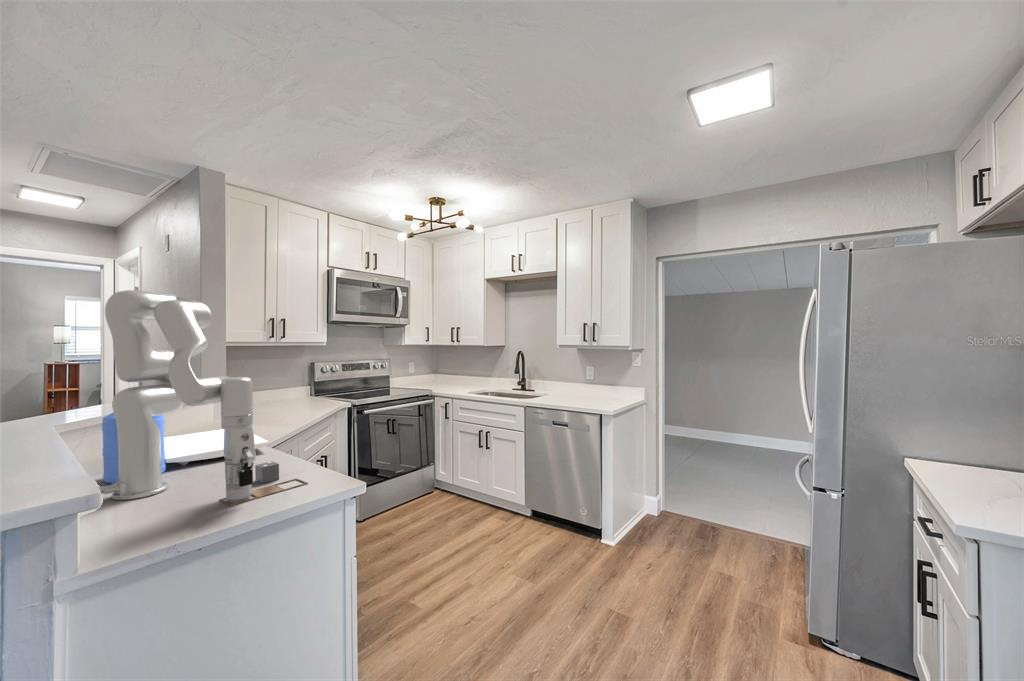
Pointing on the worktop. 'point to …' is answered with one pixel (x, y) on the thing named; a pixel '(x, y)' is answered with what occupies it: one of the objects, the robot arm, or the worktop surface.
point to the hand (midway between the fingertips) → (238, 481)
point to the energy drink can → (235, 482)
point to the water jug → (112, 446)
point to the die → (267, 472)
